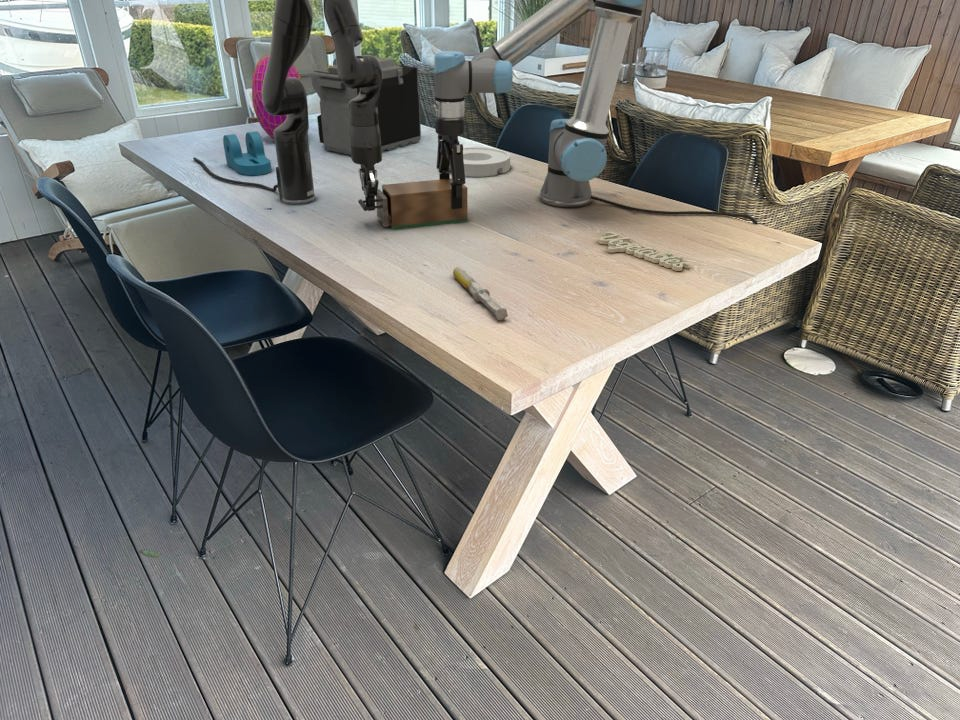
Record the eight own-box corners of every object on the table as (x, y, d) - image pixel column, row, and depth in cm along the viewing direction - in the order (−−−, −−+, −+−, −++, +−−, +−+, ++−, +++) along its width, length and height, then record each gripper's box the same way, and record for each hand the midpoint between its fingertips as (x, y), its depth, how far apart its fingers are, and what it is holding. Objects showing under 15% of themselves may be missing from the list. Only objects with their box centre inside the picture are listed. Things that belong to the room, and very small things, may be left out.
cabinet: (392, 229, 180) (390, 195, 175) (383, 218, 188) (381, 184, 183) (467, 221, 186) (467, 187, 182) (456, 210, 194) (455, 177, 189)
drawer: (365, 228, 178) (363, 200, 174) (358, 218, 185) (356, 191, 181) (456, 218, 185) (455, 191, 182) (446, 209, 192) (445, 182, 188)
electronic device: (383, 133, 276) (378, 52, 261) (425, 141, 265) (422, 56, 250) (314, 150, 251) (304, 61, 235) (358, 160, 240) (350, 67, 224)
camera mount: (227, 164, 233) (221, 132, 227) (257, 160, 238) (252, 129, 233) (244, 176, 220) (239, 143, 215) (276, 172, 225) (271, 139, 220)
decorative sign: (584, 239, 172) (609, 230, 178) (583, 243, 172) (609, 234, 178) (672, 271, 155) (697, 260, 161) (671, 275, 156) (696, 264, 161)
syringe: (449, 274, 155) (449, 263, 153) (465, 272, 156) (464, 260, 154) (490, 323, 135) (491, 310, 133) (508, 319, 136) (508, 307, 134)
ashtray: (444, 158, 243) (444, 146, 241) (509, 159, 243) (510, 147, 241) (439, 176, 224) (438, 163, 222) (510, 177, 223) (510, 165, 221)
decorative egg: (293, 132, 276) (283, 50, 261) (319, 140, 264) (310, 56, 249) (249, 139, 265) (236, 54, 250) (273, 148, 253) (261, 60, 238)
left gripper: (345, 137, 176) (351, 204, 184) (356, 149, 165) (361, 219, 174) (374, 135, 178) (379, 201, 187) (386, 147, 167) (390, 216, 176)
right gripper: (423, 110, 184) (425, 192, 195) (449, 127, 166) (450, 216, 177) (450, 108, 186) (450, 189, 197) (478, 125, 168) (477, 213, 179)
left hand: (370, 209), depth 180 cm, fingers closed
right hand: (450, 202), depth 187 cm, fingers closed on cabinet, 10 cm apart
